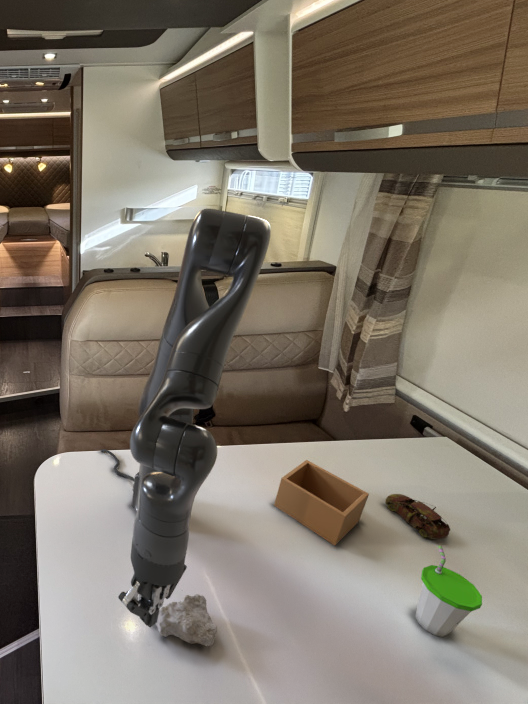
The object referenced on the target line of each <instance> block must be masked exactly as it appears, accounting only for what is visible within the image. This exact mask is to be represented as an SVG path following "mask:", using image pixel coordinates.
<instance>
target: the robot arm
mask: <svg viewBox="0 0 528 704" xmlns="http://www.w3.org/2000/svg"><path fill="white" fill-rule="evenodd" d="M270 240H271V225H270V222H268V221H267V220H266V219H263V218H260V217H258V216H257V217H256V216H252V215H246V214H243V213H238V212H233V211H232V212H231V211H226V210H222V209H216V208H203V209H201V210H199V212H198V213H197V214H196V215H195V217H194V219H193V221H192V223H191V226H190V228H189V231H188V235H187V238H186V241H185V247H184V250H183V254H182V259H181V265H180V270H179V272H178V273H179V274H178V278H177V282H176V288H175V292H174V295H173V298H172V300H171V304H170V307H169V310H168V312H167V316H166V319H165V321H164V324H163V328H162V331H161V335H160V339H159V342H158V346H157V350H156V355H155V358H154V361H153V365H152V366H151V367H152V368H151V370H150V373H149V375H148V377H147V380H146V382H145V384H144V387H143V389H142V391H141V394H140V397H139V401H138V405H137V411H138V412H137V416H138V420H137V421H136V423H135V425H134V426H133V428H132V431H131V433H130V436H129V450H130V453H131V456H132V458H133V459H134V460H135V461H136V463H138V464H139V467H138V472H137V473H135V475H134V477H133V476H131V475H128V474H126V473H123V472H120V471H118V467H119V465H120V459H119V458H118V457H117V455H115V454H114V453H113V452H112V451H110V450H109V449H105V448H102V449H100V452H101V453H107V454H109V455H110V456H111V457H112V458H113V459H114V460H115V462H116V464H115V465H114V466H113V472H114V473H115V474H117V475H119V476H121V477H123V478H126V479H129V480H131V481H132V482H133V485H132V499H131V507H132V508H133V509H134V510H135V512H136V513H135V516H134V520H133V521H134V522H133V529H132V538H131V547H130V548H131V549H130V562H131V566H132V570H133V576H132V578H131V580H130V585H131V588H130V589H129V590H126V591H121V592H120V593H119V594H118V597H117V598H118V600H119V601H120V602H121V603H122V604H123V605H124V606H125V608H126V609H127V610H128V611H129V613H131V614H133V615H135V616H137V617H139V620H141V621H142V622H143V623H144V625H145V626H146V627H148V628H150V629H151V628H152V627H153V626H155V625H156V624H155V623H157V620H158V615H159V610H160V609H161V608H162V607H163V605H164V603H165V600H168V599H171V597H172V595H173V593H174V591H175V589H176V588H177V586H178V584H179V583H180V581H181V580H182V577H183V575H184V574H185V572H186V571H187V568H188V566H187V565H186V564H185V563H186V556H187V550H188V546H189V538H190V520H191V516H192V515H191V514H192V509H193V505H194V501H195V498H196V496H197V494H198V492H199V490H200V489H201V487H202V485H203V484H204V482H205V481H206V480H207V478H208V477H209V475H210V474H211V472H212V471H213V468H214V467H215V464H216V462H217V458H218V445H217V442H216V439H215V437H214V436H213V434H212V433H211V432H210V431H209V430H208V429H206V428H204V427H202V426H199V425H196V424H193V422H194V415H195V414H194V413H195V410H207V409H209V408H211V407H212V406H213V405H214V404H215V401H216V399H217V395H218V392H219V391H218V390H219V387H220V384H221V379H222V375H223V372H224V368H225V364H226V360H227V357H228V354H229V351H230V348H231V345H232V341H233V339H234V336H235V333H236V331H237V329H238V327H239V325H240V322H241V320H242V318H243V315H244V313H245V310H246V308H247V306H248V303H249V301H250V298H251V295H252V293H253V291H254V288H255V285H256V283H257V279H258V278H259V275H260V272H261V270H262V267H263V264H264V262H265V258H266V256H267V252H268V249H269V247H270ZM202 271H204V272H209V273H213V274H217V275H221V276H226V277H229V278H232V280H231V281H230V283H229V285H228V287H227V289H226V290H225V292H224V293H223V294H222V295H221V297H219V298H218V299H217V300H216V301H215V302H214V303H212V304H211V305H210V306H209V302H208V300H207V298H206V296H205V292H204V287H203V283H202ZM105 451H106V452H105Z"/></svg>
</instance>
